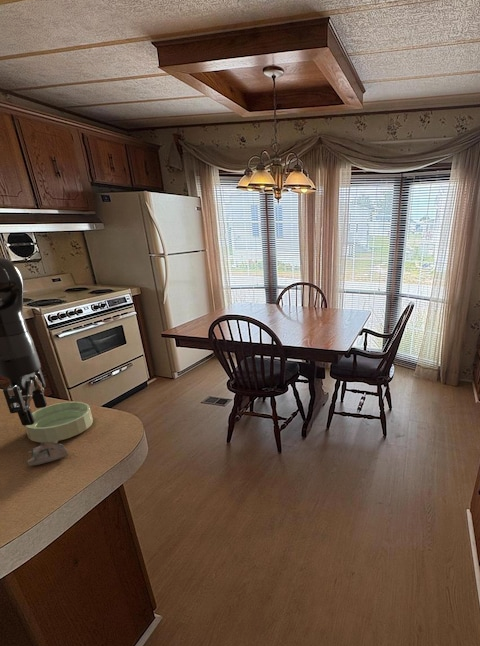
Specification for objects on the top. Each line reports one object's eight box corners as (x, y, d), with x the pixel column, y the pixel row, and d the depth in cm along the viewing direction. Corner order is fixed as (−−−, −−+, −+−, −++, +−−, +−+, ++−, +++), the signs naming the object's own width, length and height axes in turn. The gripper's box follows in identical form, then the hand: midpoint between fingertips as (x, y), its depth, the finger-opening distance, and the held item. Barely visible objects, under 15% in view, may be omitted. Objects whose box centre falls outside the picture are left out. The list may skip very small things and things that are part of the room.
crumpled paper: (69, 457, 88) (62, 434, 85) (29, 469, 83) (20, 445, 80) (68, 449, 91) (61, 427, 88) (30, 460, 86) (21, 436, 83)
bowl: (19, 448, 90) (13, 432, 88) (39, 420, 103) (34, 405, 101) (87, 438, 96) (82, 423, 94) (98, 412, 108) (94, 398, 107)
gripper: (6, 343, 80) (27, 404, 87) (-24, 365, 68) (2, 434, 75) (45, 341, 83) (62, 400, 89) (22, 361, 71) (44, 428, 77)
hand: (35, 415), depth 82 cm, fingers open, 8 cm apart
